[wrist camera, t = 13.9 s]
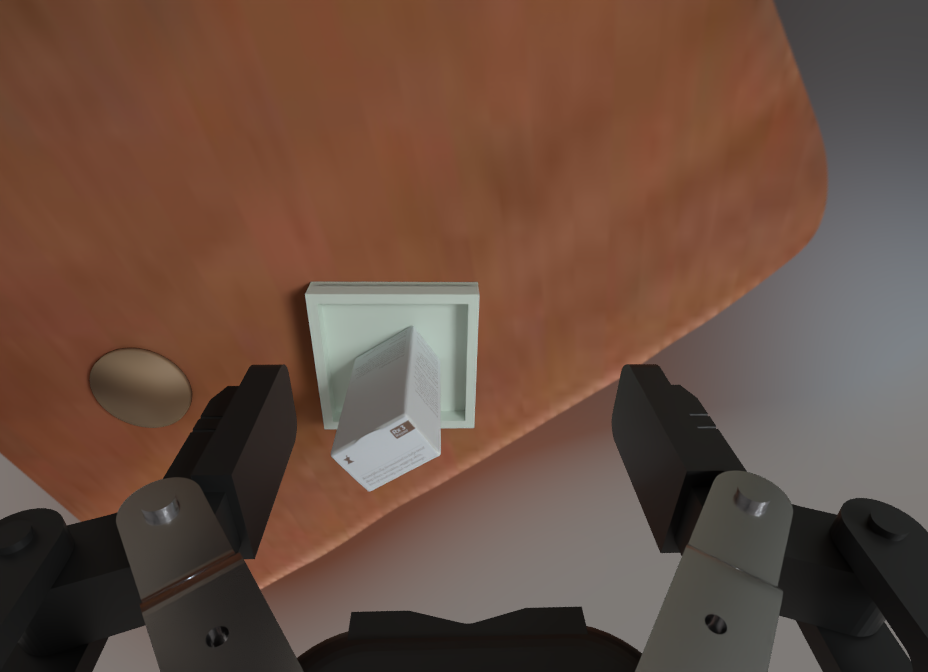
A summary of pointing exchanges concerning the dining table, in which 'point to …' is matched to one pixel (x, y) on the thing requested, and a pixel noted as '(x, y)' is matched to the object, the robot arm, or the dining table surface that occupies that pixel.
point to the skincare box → (390, 411)
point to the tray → (382, 317)
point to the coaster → (141, 387)
